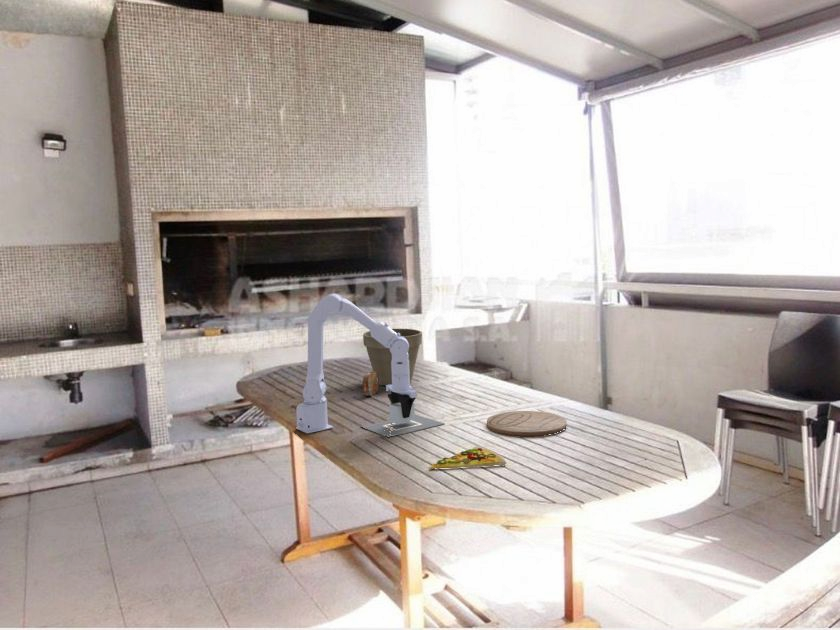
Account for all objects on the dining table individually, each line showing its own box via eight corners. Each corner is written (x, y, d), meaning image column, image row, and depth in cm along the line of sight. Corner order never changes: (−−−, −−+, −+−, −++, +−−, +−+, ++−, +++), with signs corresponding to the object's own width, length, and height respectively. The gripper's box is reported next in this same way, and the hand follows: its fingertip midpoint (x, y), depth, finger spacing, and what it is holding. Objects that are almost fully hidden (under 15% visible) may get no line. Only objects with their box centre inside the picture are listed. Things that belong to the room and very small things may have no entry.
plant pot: (421, 388, 270) (419, 335, 268) (360, 390, 272) (358, 337, 269) (425, 376, 295) (423, 327, 293) (369, 377, 297) (367, 329, 294)
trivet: (577, 421, 217) (577, 415, 216) (550, 442, 195) (550, 435, 195) (505, 413, 229) (505, 408, 229) (473, 432, 208) (473, 426, 208)
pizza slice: (511, 467, 176) (511, 456, 175) (442, 482, 167) (441, 470, 167) (481, 451, 190) (481, 441, 189) (415, 464, 181) (414, 453, 180)
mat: (388, 437, 204) (388, 436, 204) (360, 427, 216) (360, 426, 216) (444, 424, 217) (444, 423, 217) (415, 415, 229) (415, 414, 229)
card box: (414, 419, 217) (414, 402, 216) (396, 423, 213) (396, 406, 212) (407, 417, 220) (406, 400, 219) (389, 421, 216) (389, 403, 215)
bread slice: (369, 398, 257) (368, 376, 256) (361, 398, 258) (361, 376, 257) (379, 389, 272) (379, 369, 271) (372, 389, 272) (371, 369, 271)
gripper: (424, 376, 211) (425, 418, 213) (397, 369, 223) (399, 409, 224) (406, 379, 207) (407, 422, 209) (380, 372, 219) (381, 413, 220)
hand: (402, 416), depth 216 cm, fingers closed on card box, 4 cm apart
